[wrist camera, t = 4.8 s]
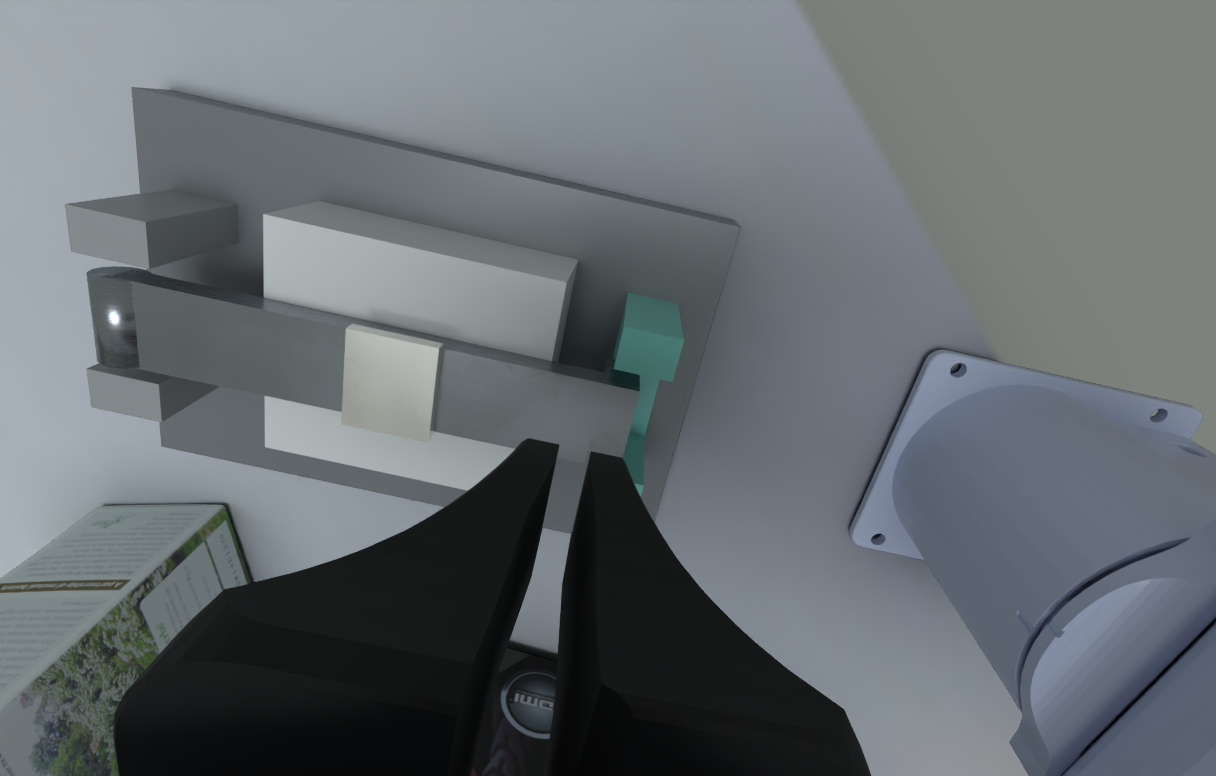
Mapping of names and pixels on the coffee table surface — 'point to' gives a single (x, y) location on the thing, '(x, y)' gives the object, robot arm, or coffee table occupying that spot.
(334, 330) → the clamp strap
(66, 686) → the syrup box
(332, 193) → the clamp board
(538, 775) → the graphics card box
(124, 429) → the coffee table surface
